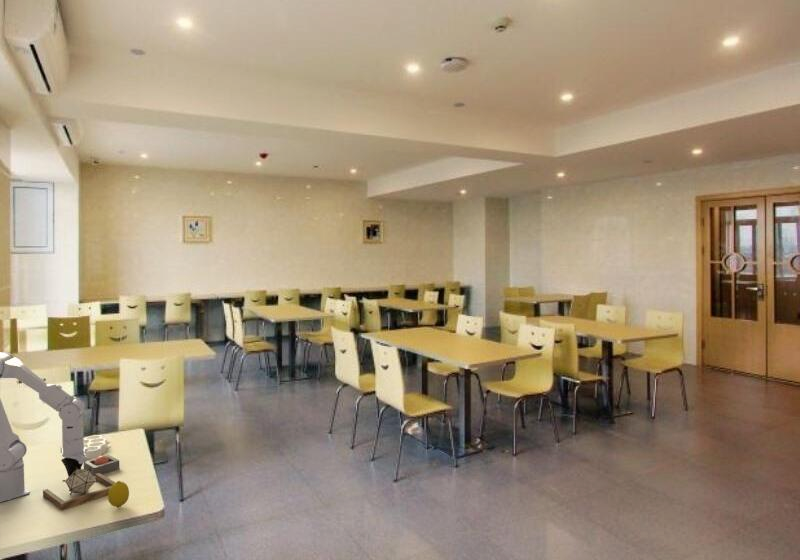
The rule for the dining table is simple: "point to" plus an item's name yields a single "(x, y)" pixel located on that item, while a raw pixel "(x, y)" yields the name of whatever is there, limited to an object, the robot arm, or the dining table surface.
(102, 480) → the brown wooden u shape
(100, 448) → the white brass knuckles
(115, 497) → the lemon
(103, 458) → the salmon ball
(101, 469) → the dome housing
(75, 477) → the game die
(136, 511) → the dining table surface
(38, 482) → the dining table surface
